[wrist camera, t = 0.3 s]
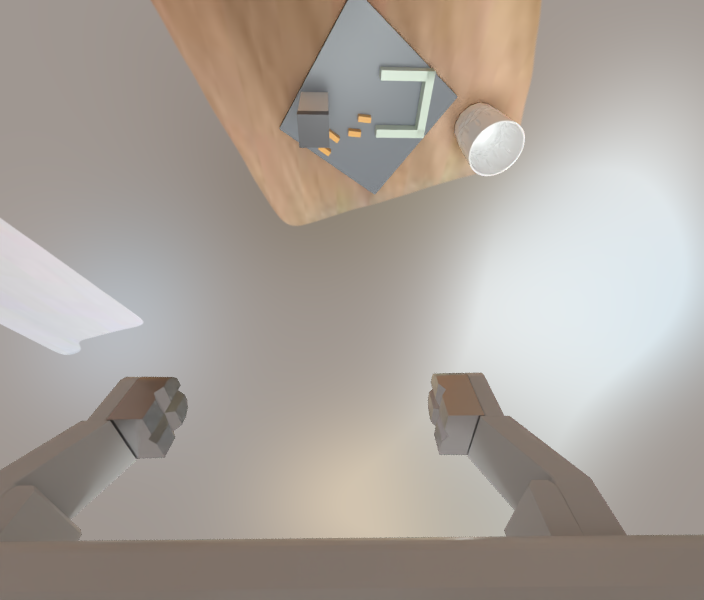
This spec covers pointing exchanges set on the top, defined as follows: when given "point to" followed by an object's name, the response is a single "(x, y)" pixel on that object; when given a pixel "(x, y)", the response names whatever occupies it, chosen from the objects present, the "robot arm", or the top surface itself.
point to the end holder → (424, 102)
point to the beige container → (313, 120)
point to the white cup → (488, 139)
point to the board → (366, 96)
